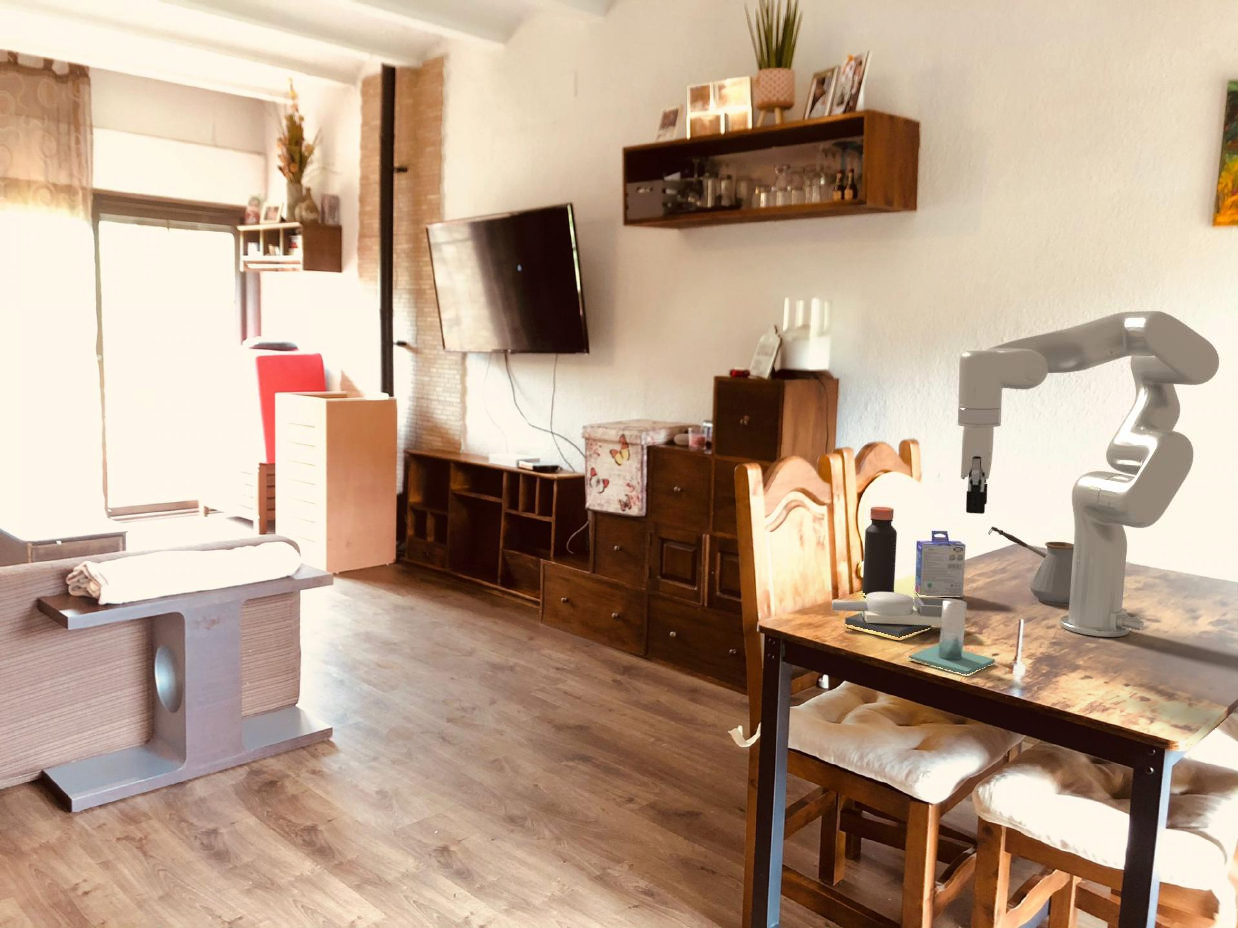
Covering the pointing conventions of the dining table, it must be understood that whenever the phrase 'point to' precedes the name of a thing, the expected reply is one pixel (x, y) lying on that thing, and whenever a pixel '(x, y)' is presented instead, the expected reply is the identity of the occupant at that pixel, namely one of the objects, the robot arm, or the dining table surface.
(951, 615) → the grey piece
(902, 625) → the dark gray sponge cloth
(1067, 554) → the coffee pot
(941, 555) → the ink cartridge box
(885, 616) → the white handled tool
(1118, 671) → the dining table surface
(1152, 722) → the dining table surface
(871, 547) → the bottle
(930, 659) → the key mat
